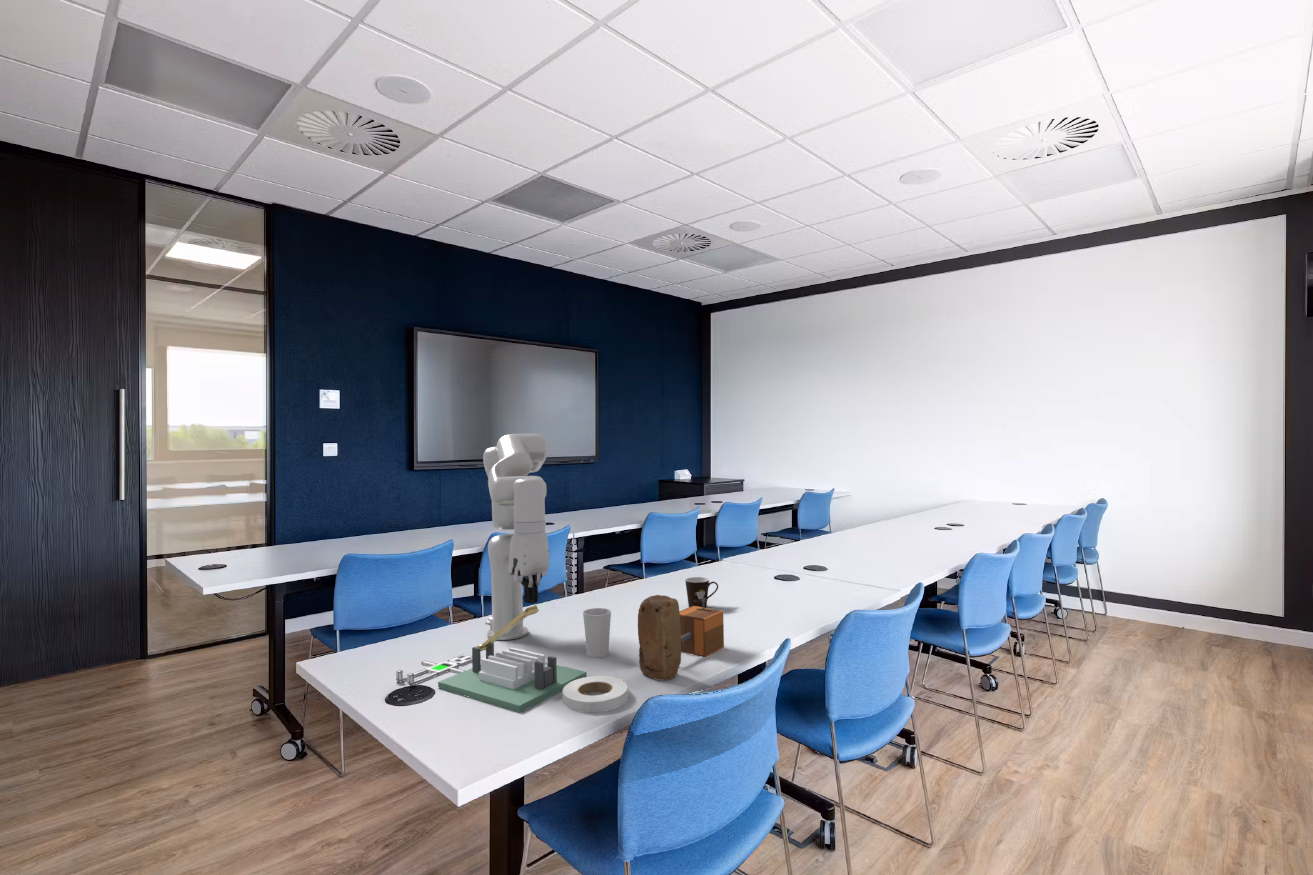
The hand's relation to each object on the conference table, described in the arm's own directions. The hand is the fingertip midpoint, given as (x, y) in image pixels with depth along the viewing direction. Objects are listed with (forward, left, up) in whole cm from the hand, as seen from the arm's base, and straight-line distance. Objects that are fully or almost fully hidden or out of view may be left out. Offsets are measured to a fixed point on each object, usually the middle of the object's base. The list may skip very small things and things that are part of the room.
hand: (531, 602), depth 158 cm
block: (+22, +23, -22) cm, 39 cm away
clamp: (+21, +41, -22) cm, 51 cm away
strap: (-8, 0, -9) cm, 12 cm away
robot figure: (-31, -4, -22) cm, 38 cm away
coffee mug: (0, +86, -21) cm, 89 cm away
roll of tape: (+17, +3, -22) cm, 28 cm away
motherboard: (-7, 0, -21) cm, 22 cm away
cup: (-2, +28, -21) cm, 35 cm away
